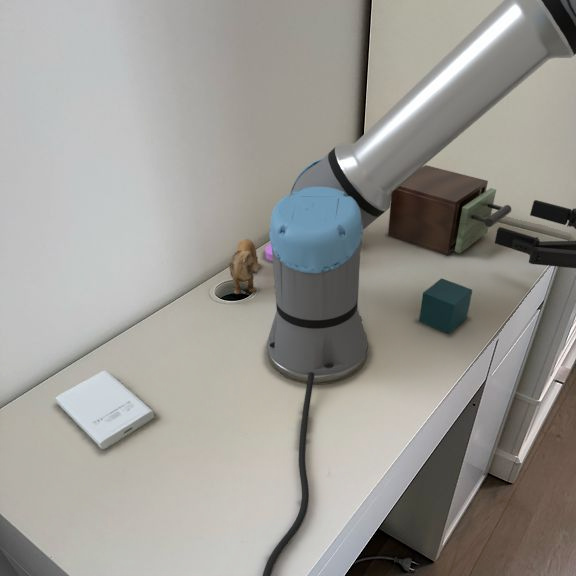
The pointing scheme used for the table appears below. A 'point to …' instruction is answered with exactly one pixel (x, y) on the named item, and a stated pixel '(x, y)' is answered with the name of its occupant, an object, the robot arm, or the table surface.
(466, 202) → the drawer
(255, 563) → the table surface
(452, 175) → the cabinet
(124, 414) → the hard drive
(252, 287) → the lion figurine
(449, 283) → the block
